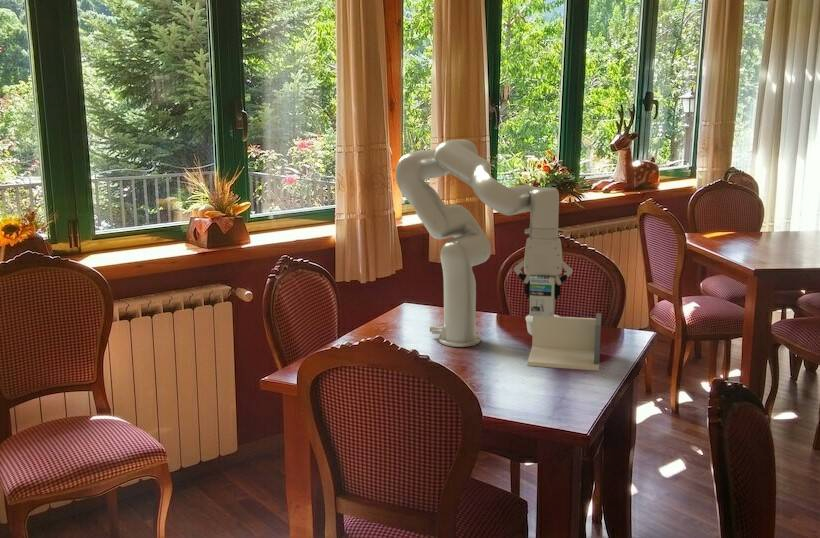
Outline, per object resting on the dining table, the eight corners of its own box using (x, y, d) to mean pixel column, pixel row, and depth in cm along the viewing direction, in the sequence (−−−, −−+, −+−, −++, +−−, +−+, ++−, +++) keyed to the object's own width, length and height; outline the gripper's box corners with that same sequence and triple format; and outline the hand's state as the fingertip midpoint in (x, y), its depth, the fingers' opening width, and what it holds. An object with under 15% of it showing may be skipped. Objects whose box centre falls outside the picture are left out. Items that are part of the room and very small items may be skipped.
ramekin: (566, 331, 249) (567, 315, 247) (555, 341, 239) (556, 324, 238) (532, 327, 254) (532, 311, 252) (520, 336, 244) (520, 319, 243)
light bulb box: (553, 317, 214) (555, 278, 212) (528, 316, 216) (529, 277, 213) (554, 307, 225) (556, 270, 222) (530, 306, 226) (531, 269, 224)
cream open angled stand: (527, 365, 217) (528, 329, 215) (532, 348, 231) (533, 315, 229) (598, 370, 213) (600, 334, 211) (599, 353, 227) (601, 318, 225)
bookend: (593, 364, 214) (595, 324, 212) (594, 350, 226) (596, 313, 223) (599, 364, 214) (600, 325, 212) (599, 350, 225) (601, 313, 223)
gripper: (510, 235, 214) (509, 299, 218) (576, 236, 210) (574, 302, 214) (513, 230, 221) (512, 292, 225) (577, 232, 217) (575, 295, 221)
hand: (542, 296), depth 219 cm, fingers closed on light bulb box, 6 cm apart
